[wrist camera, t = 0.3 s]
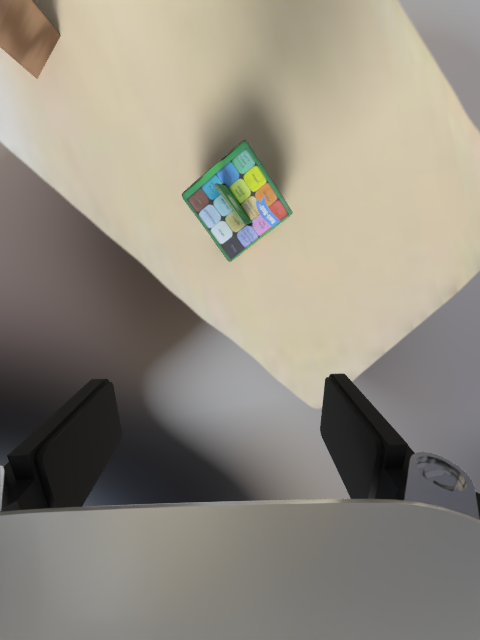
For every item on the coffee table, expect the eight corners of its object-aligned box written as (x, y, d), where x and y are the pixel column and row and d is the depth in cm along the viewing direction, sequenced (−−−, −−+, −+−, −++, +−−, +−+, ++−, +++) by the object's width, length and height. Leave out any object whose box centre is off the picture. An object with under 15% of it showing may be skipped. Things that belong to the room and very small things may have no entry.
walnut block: (16, -7, 29) (-38, -72, 23) (60, 36, 30) (20, -15, 24) (-6, 39, 30) (-63, -11, 24) (37, 79, 31) (-7, 41, 26)
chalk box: (278, 224, 37) (305, 208, 23) (231, 260, 38) (230, 266, 24) (243, 170, 35) (249, 115, 21) (195, 211, 36) (170, 185, 22)
